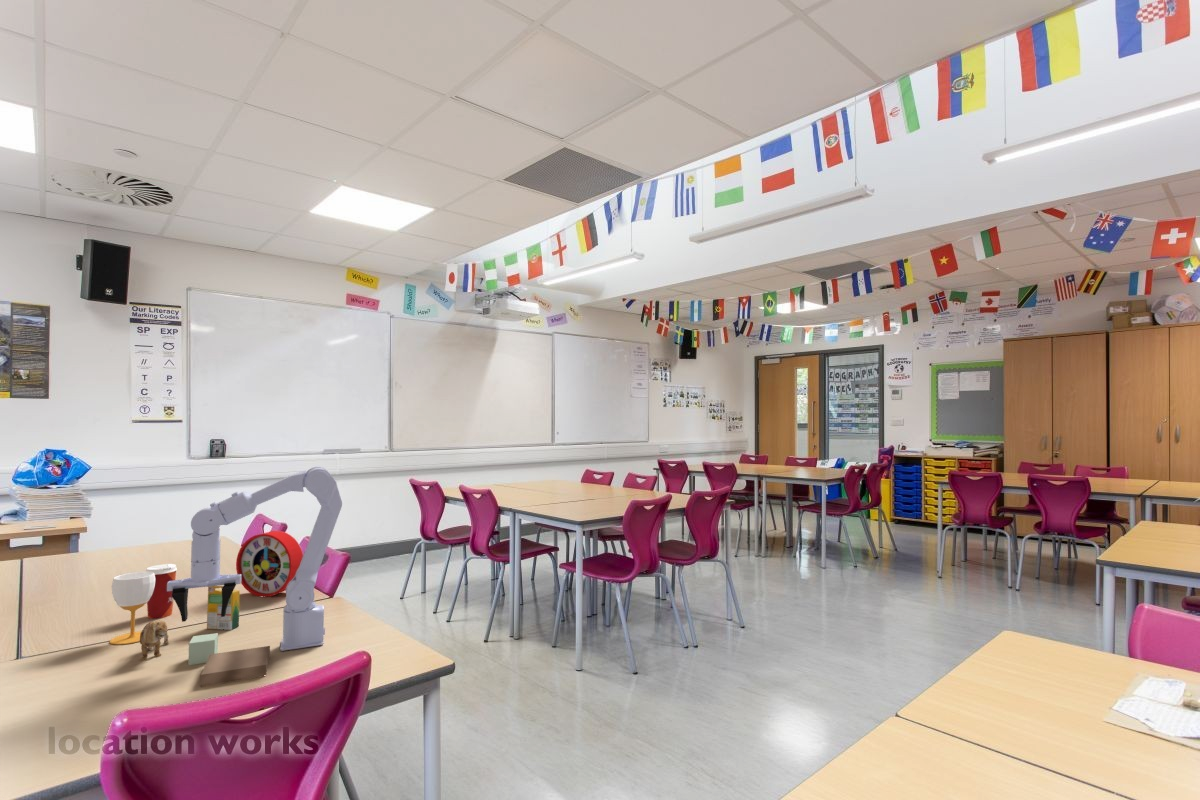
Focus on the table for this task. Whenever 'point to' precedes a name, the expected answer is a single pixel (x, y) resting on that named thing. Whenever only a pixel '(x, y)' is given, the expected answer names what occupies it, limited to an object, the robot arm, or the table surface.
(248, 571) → the toy clock
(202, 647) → the sage cube
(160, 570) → the paper cup
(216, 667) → the walnut block
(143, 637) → the tan animal figurine
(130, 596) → the cup
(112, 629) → the table surface
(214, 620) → the crayon box
